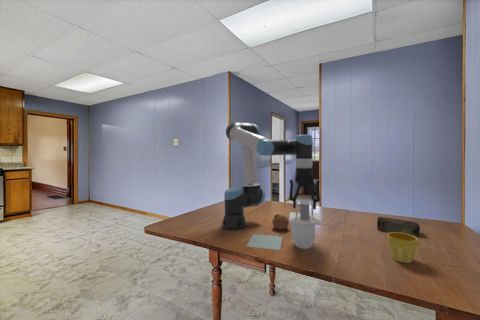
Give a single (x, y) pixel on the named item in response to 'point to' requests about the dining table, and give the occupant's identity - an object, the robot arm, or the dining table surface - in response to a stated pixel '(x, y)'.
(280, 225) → the onion
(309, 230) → the mug
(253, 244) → the mat
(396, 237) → the plant pot
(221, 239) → the dining table surface
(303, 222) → the lid
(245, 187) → the robot arm
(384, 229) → the beverage carton
